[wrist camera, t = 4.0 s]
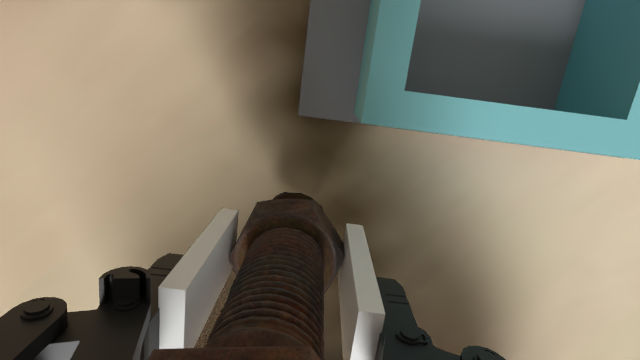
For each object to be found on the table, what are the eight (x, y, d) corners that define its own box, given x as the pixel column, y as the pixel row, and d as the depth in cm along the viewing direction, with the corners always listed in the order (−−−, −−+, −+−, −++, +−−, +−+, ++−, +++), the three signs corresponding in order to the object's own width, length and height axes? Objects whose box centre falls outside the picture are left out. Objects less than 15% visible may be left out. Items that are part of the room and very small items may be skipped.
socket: (300, 113, 22) (287, 125, 15) (329, -153, 18) (329, -277, 12) (604, 152, 22) (716, 182, 15) (690, -104, 18) (879, -202, 12)
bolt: (311, 275, 21) (283, 683, 7) (232, 237, 21) (24, 595, 6) (360, 191, 20) (453, 482, 6) (277, 148, 20) (142, 347, 5)
